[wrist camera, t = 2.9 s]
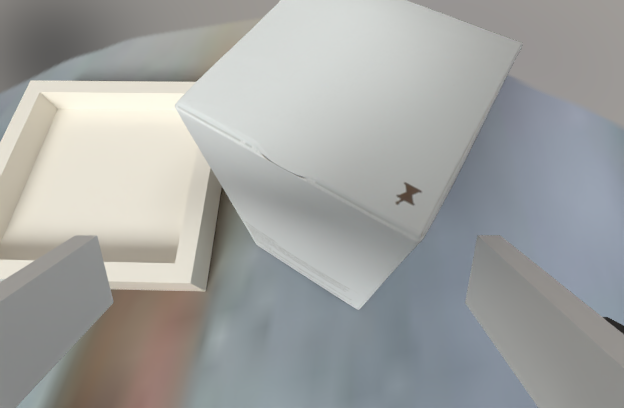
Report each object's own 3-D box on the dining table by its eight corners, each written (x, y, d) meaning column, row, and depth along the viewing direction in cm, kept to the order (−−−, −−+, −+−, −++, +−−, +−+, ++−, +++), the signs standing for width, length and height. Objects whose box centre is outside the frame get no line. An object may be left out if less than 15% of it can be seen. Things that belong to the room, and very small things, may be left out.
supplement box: (417, 209, 25) (539, 38, 11) (359, 313, 22) (427, 253, 8) (316, 154, 27) (316, -45, 13) (251, 242, 24) (163, 102, 10)
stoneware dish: (233, 107, 29) (225, 82, 26) (205, 291, 23) (190, 283, 20) (57, 105, 30) (30, 80, 27) (-21, 285, 23) (-66, 277, 20)
